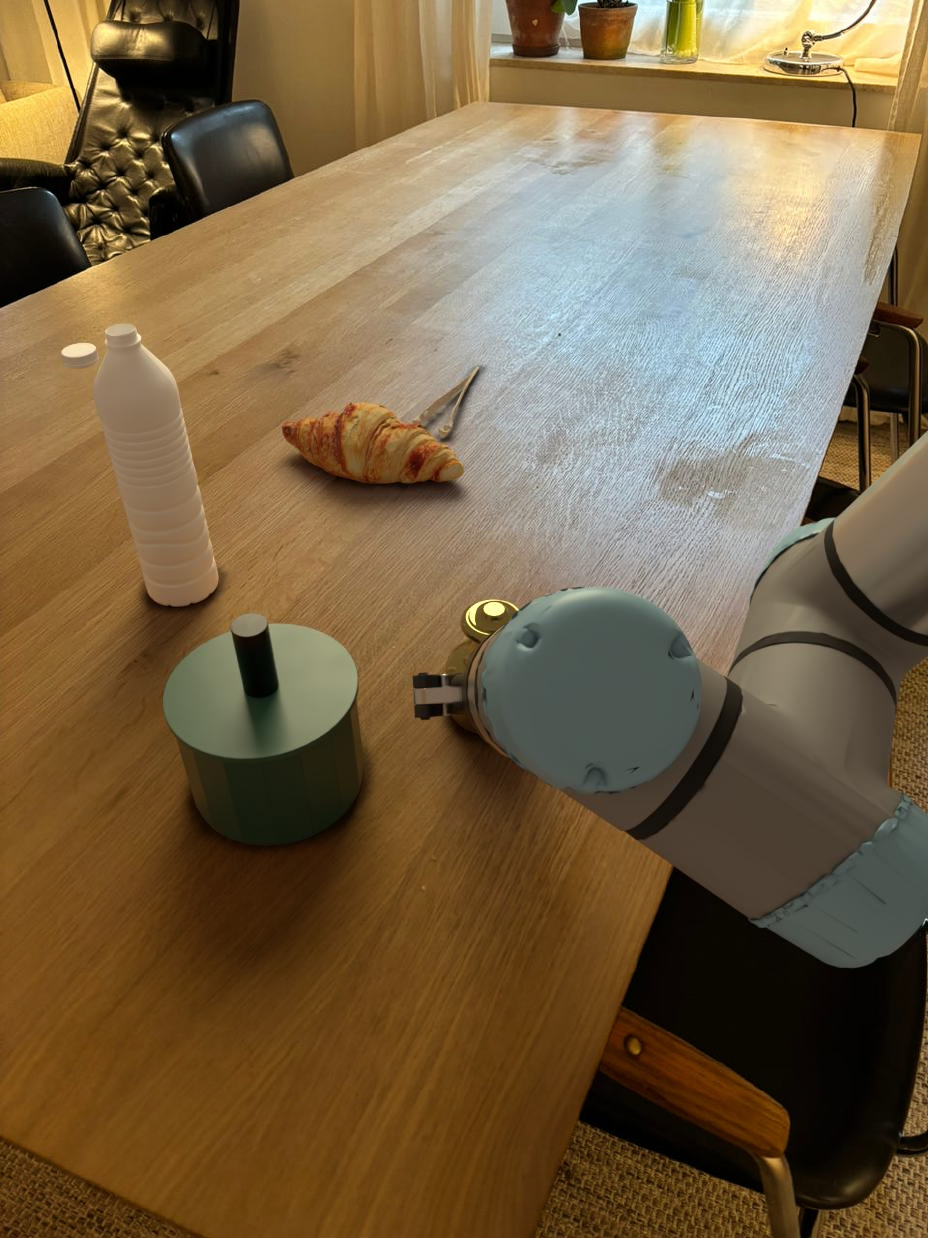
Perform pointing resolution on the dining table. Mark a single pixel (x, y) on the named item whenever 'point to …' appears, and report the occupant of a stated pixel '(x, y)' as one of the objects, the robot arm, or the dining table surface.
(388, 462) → the croissant
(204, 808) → the pot
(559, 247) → the dining table surface
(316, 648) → the pot lid
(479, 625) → the brass calibration weight
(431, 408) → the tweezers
